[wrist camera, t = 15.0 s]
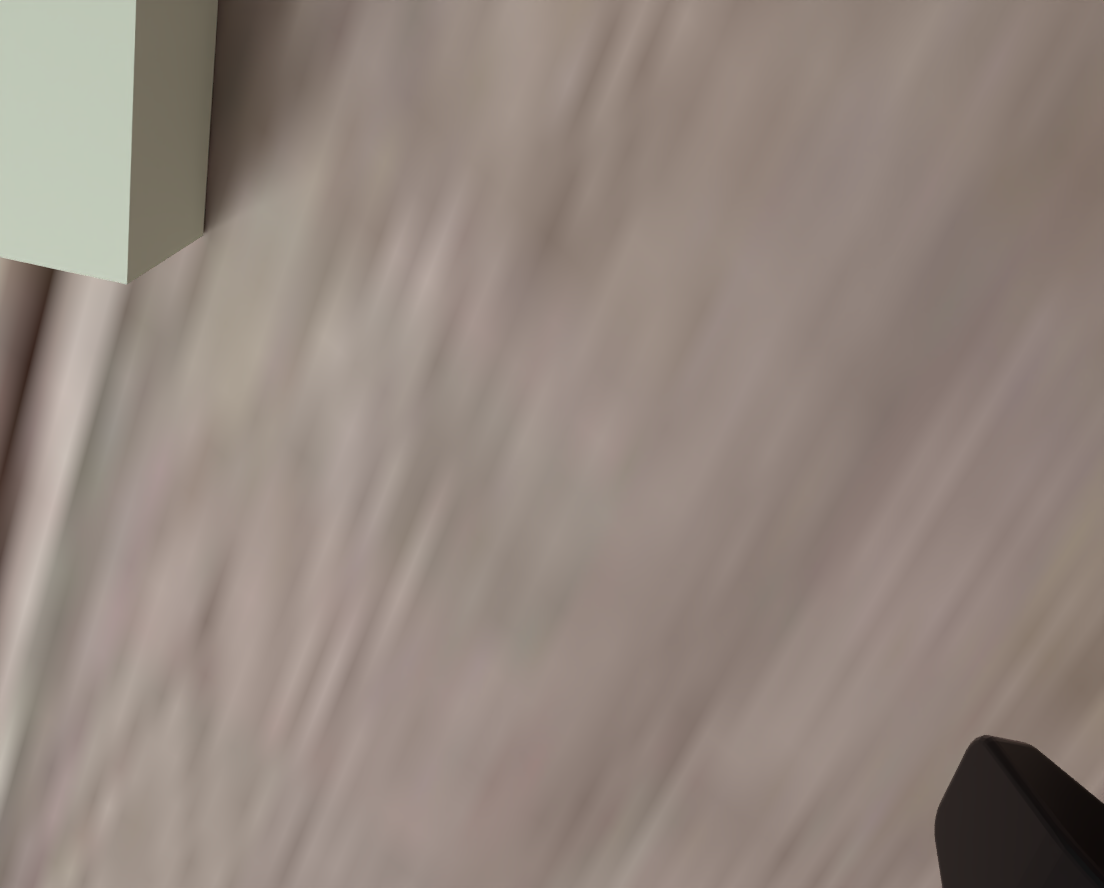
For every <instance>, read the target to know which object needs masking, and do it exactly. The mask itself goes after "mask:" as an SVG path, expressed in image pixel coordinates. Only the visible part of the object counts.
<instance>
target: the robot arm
mask: <svg viewBox="0 0 1104 888" xmlns="http://www.w3.org/2000/svg"><path fill="white" fill-rule="evenodd" d="M935 842H936V849H937V856H938V862H939V869H940V875H941V882H942V888H1104V804H1103V803H1102V802H1101V801H1100V800H1098V799H1097V798H1096V797H1095V796H1094V795H1092V794H1091V793H1090V792H1089V791H1087V790H1086V789H1085V788H1084V787H1083V786H1081V785H1080V784H1079V783H1078V782H1077V781H1075V780H1074V779H1073V778H1072V777H1070V776H1069V775H1068V774H1067V773H1066V772H1064V771H1063V770H1062V769H1061V768H1060V767H1058V766H1057V765H1056V764H1055V763H1053V762H1052V761H1051V760H1050V759H1049V758H1047V757H1046V756H1045V755H1044V754H1042V753H1041V752H1040V751H1039V750H1038V749H1036V748H1035V747H1033V746H1032V745H1030V744H1027V743H1024V742H1019V741H1014V740H1010V739H1005V738H1000V737H995V736H990V735H983V736H980V737H978V738H976V739H975V740H974V741H973V742H971V744H970V745H969V747H968V748H967V750H966V752H965V754H964V756H963V758H962V760H961V762H960V764H959V766H958V768H957V770H956V772H955V774H954V776H953V778H952V780H951V782H950V784H949V786H948V788H947V790H946V792H945V794H944V796H943V798H942V800H941V802H940V805H939V807H938V810H937V814H936V819H935Z"/></svg>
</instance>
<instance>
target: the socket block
mask: <svg viewBox="0 0 1104 888" xmlns="http://www.w3.org/2000/svg"><path fill="white" fill-rule="evenodd" d="M217 12H218V0H0V257H2V258H7V259H12V260H16V261H21V262H25V263H30V264H35V265H39V266H44V267H49V268H53V269H58V270H62V271H67V272H72V273H76V274H81V275H85V276H90V277H95V278H99V279H104V280H109V281H113V282H118V283H122V284H128V283H130V282H132V281H133V280H135V279H136V278H138V277H139V276H141V275H142V274H144V273H146V272H147V271H149V270H150V269H152V268H153V267H155V266H156V265H158V264H159V263H161V262H163V261H164V260H166V259H167V258H169V257H170V256H172V255H173V254H175V253H177V252H178V251H180V250H181V249H183V248H184V247H186V246H187V245H189V244H191V243H192V242H194V241H195V240H197V239H198V238H200V237H201V236H203V230H204V215H205V199H206V183H207V168H208V152H209V137H210V121H211V106H212V90H213V75H214V59H215V43H216V28H217Z"/></svg>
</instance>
